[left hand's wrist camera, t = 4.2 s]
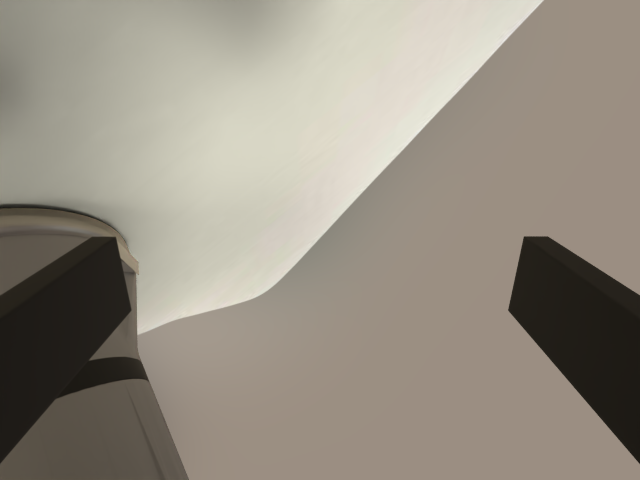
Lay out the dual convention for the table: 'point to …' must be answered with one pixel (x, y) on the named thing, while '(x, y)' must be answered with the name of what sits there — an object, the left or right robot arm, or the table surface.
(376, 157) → the table surface
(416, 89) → the table surface
